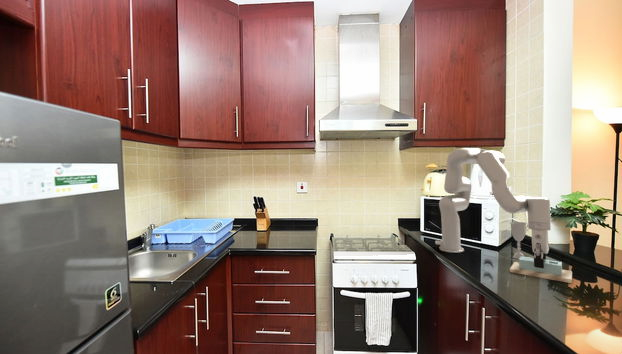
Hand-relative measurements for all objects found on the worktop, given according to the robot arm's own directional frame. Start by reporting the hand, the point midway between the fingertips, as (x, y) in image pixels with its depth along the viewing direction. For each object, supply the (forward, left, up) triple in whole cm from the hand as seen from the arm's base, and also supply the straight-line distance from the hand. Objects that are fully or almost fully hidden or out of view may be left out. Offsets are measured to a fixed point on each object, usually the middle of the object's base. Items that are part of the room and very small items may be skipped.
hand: (540, 264), depth 120 cm
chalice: (-10, +20, -4) cm, 23 cm away
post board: (0, 0, -4) cm, 4 cm away
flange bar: (0, 0, -2) cm, 2 cm away
